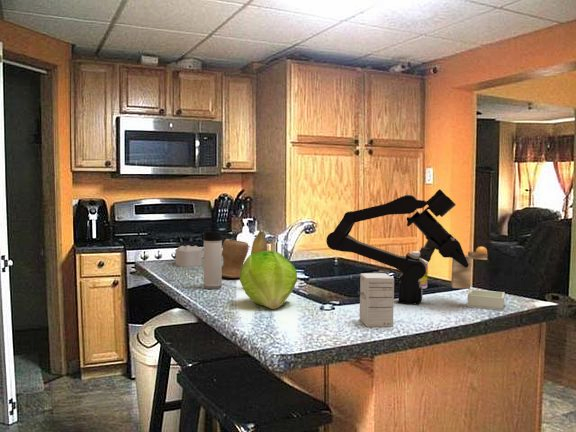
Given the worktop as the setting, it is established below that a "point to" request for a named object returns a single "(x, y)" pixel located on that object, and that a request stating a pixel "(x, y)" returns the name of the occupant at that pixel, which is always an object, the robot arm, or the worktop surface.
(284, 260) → the lettuce
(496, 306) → the tray
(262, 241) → the vegetable
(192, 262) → the lumpy-topped squat cylinder
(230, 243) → the stone cup
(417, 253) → the supplement bottle
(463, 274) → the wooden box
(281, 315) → the worktop surface
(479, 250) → the ball
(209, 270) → the travel mug
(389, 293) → the supplement box
